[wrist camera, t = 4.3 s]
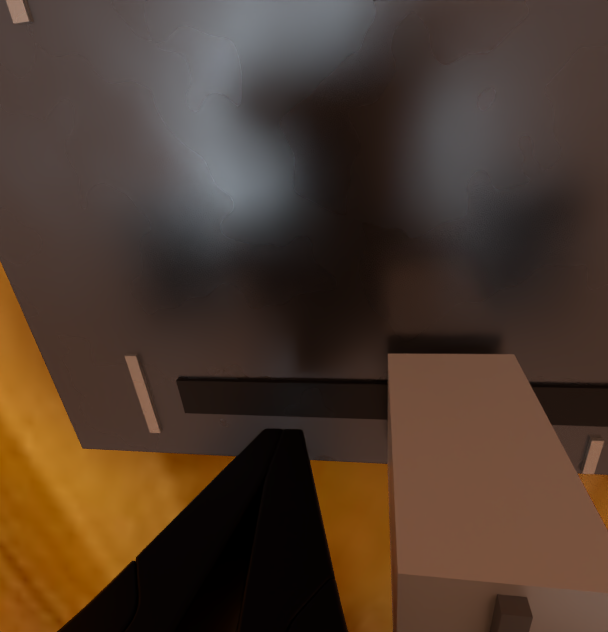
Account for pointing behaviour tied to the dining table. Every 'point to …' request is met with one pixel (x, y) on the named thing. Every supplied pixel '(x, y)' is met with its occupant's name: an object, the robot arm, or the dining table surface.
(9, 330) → the dining table surface
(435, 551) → the white fader
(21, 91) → the console
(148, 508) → the dining table surface
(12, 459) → the dining table surface
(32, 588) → the dining table surface
